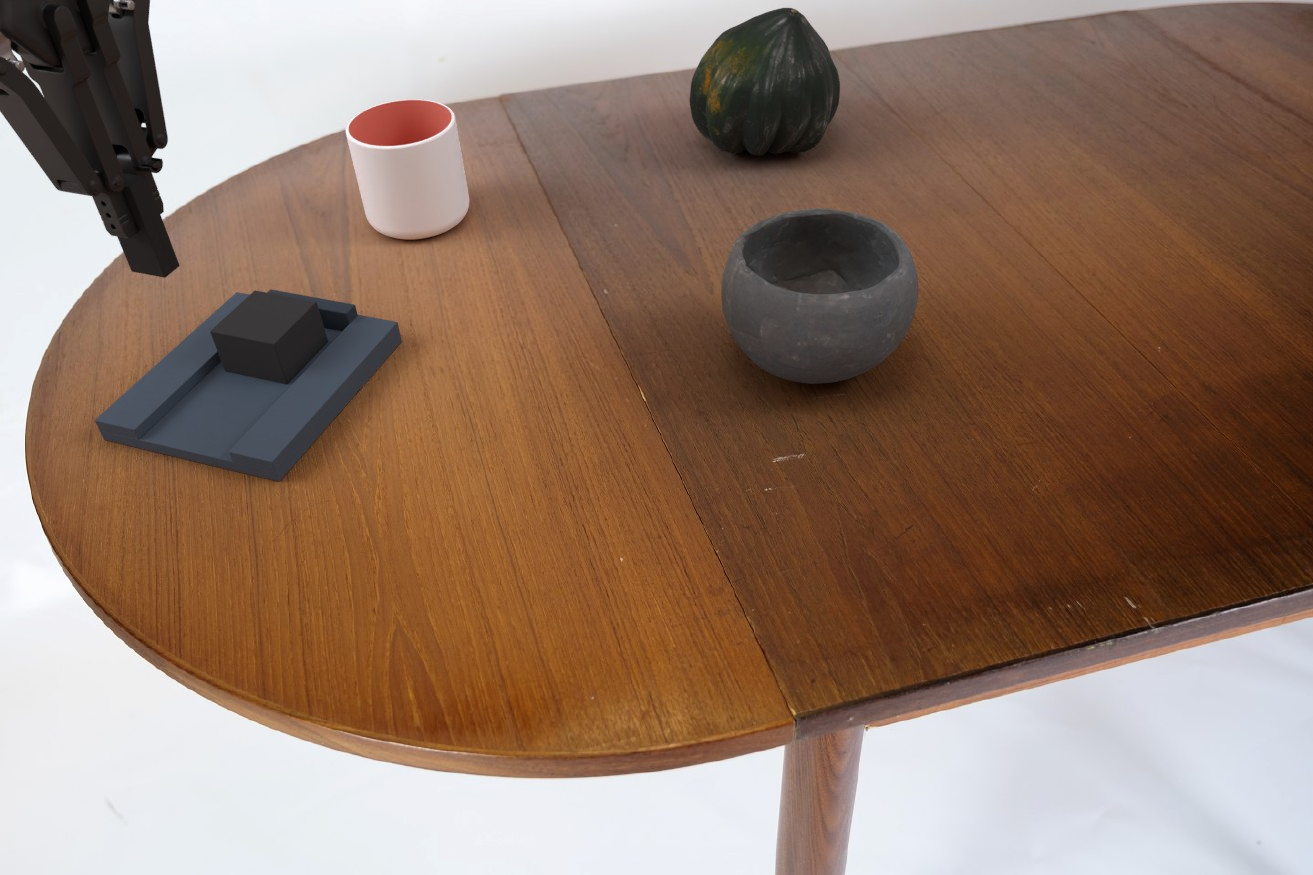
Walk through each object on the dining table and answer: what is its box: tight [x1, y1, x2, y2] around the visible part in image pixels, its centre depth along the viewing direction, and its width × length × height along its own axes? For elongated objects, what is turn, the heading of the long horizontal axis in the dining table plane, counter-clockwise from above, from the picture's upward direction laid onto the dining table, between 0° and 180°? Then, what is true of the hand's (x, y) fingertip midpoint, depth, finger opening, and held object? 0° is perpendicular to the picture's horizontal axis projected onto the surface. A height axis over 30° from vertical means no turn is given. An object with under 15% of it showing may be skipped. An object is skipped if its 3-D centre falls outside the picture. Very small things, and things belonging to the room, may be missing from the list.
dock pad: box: [94, 288, 403, 483], centre depth 90 cm, size 18×16×3 cm
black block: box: [210, 290, 328, 384], centre depth 91 cm, size 6×6×4 cm
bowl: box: [720, 207, 919, 385], centre depth 87 cm, size 15×15×10 cm
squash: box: [689, 7, 841, 156], centre depth 115 cm, size 14×15×15 cm
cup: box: [345, 98, 470, 240], centre depth 107 cm, size 10×10×10 cm
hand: (155, 268), depth 74 cm, fingers closed
